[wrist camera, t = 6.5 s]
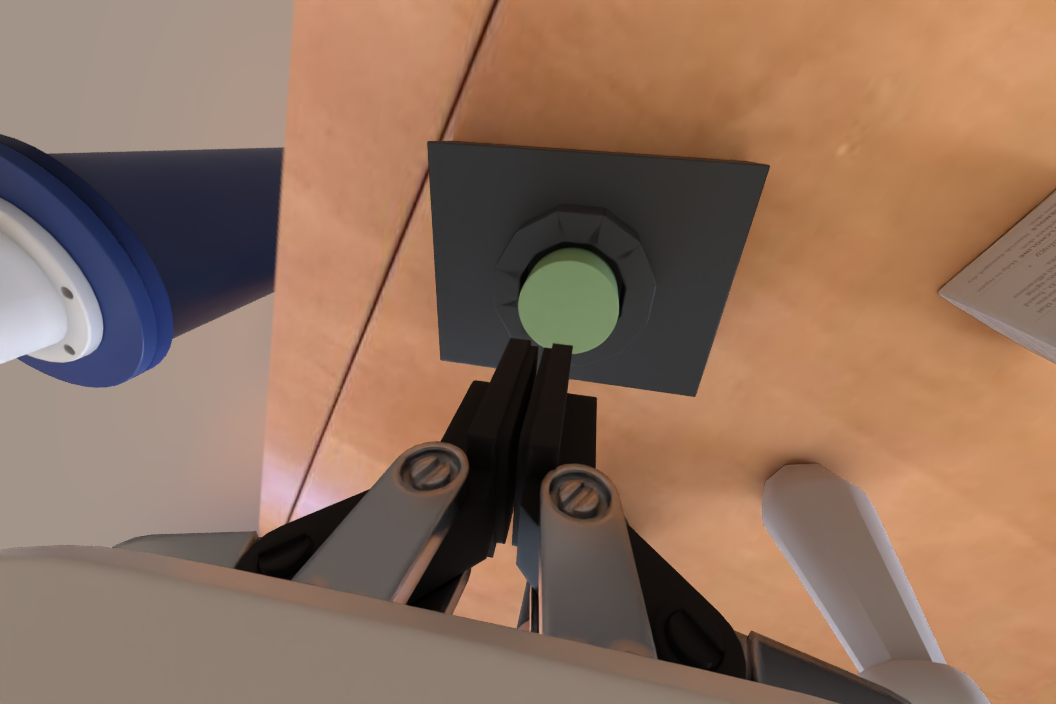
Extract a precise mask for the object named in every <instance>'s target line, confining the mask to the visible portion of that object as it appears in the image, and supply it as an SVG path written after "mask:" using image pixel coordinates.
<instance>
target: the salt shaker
mask: <svg viewBox="0 0 1056 704" xmlns="http://www.w3.org/2000/svg"><path fill="white" fill-rule="evenodd" d="M762 520H763V525H764V527H765V528H766V530H767V531H768V533H769V534H770V536H771V537H772V539H773V540H774V542H775V543H776V545H777V546H778V548H779V549H780V550H781V552H782V553H783V555H784V556H785V558H786V559H787V561H788V562H789V564H790V565H791V567H792V568H793V570H794V572H795V573H796V575H797V576H798V578H799V579H800V581H801V582H802V584H803V585H804V587H805V589H806V590H807V592H808V593H809V595H810V596H811V598H812V599H813V601H814V602H815V604H816V606H817V607H818V609H819V610H820V612H821V613H822V615H823V616H824V618H825V619H826V621H827V623H828V624H829V626H830V627H831V629H832V630H833V632H834V633H835V635H836V636H837V638H838V640H839V641H840V643H841V644H842V646H843V647H844V649H845V650H846V652H847V653H848V655H849V657H850V658H851V660H852V661H853V663H854V664H855V666H856V667H857V669H858V670H859V672H860V673H859V674H858V675H857V676H860V677H862V678H864V679H867V680H869V681H872V682H874V683H876V684H879V685H881V686H883V687H886V688H888V689H889V690H891V691H893V692H895V693H896V694H898V695H900V696H902V697H903V698H905V699H907V700H908V701H910V702H911V703H912V704H991V703H990V702H989V700H988V699H987V698H986V696H985V695H984V694H983V692H982V691H981V689H980V688H979V687H978V685H977V684H976V683H975V682H974V681H973V680H972V679H971V678H970V677H969V676H968V675H967V674H966V673H964V672H962V671H960V670H958V669H956V668H954V667H952V666H950V665H947V664H946V662H945V659H944V657H943V655H942V653H941V651H940V649H939V646H938V644H937V642H936V640H935V638H934V635H933V633H932V631H931V629H930V627H929V625H928V622H927V620H926V618H925V616H924V614H923V611H922V609H921V607H920V605H919V603H918V601H917V598H916V596H915V594H914V592H913V590H912V588H911V585H910V583H909V581H908V579H907V577H906V574H905V572H904V570H903V568H902V566H901V564H900V561H899V559H898V557H897V555H896V553H895V551H894V548H893V546H892V544H891V542H890V540H889V537H888V535H887V533H886V531H885V529H884V527H883V524H882V522H881V520H880V518H879V516H878V513H877V511H876V509H875V507H874V506H873V504H872V503H871V501H870V500H869V498H868V496H867V495H866V494H865V493H864V492H863V491H862V490H861V488H860V487H858V486H856V485H854V484H852V483H850V482H848V481H846V480H844V479H842V478H840V477H839V476H837V475H836V474H834V473H832V472H831V471H829V470H828V469H826V468H825V467H823V466H821V465H820V464H818V463H813V464H793V465H784V466H783V467H782V468H781V469H780V470H778V471H777V472H776V473H775V474H774V475H773V476H771V477H770V478H769V479H768V480H767V481H765V485H764V492H763V499H762Z"/></svg>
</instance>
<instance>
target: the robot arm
mask: <svg viewBox="0 0 1056 704" xmlns="http://www.w3.org/2000/svg"><path fill="white" fill-rule="evenodd" d="M103 329H104V327H103V317H102V313H101V309H100V306H99V303H98V300H97V298H96V296H95V293H94V291H93V289H92V287H91V285H90V283H89V282H88V280H87V279H86V277H85V275H84V274H83V272H82V271H81V269H80V267H79V266H78V265H77V264H76V262H75V261H74V260H73V259H72V257H71V256H70V255H69V253H68V252H67V251H66V250H65V249H64V248H63V247H62V246H61V244H60V243H59V242H58V241H57V240H56V239H55V238H54V237H53V236H52V235H51V234H50V233H49V232H48V231H47V230H45V229H44V228H43V227H42V226H41V225H40V224H39V223H37V222H36V221H35V220H34V219H33V218H31V217H30V216H29V215H27V214H26V213H24V212H23V211H22V210H20V209H19V208H17V207H16V206H15V205H13V204H11V203H9V202H8V201H6V200H4V199H2V198H0V364H1V363H4V362H7V361H10V360H12V359H15V358H18V357H20V356H23V355H29V356H32V357H34V358H37V359H41V360H45V361H50V362H61V363H64V362H70V361H74V360H77V359H79V358H82V357H84V356H86V355H89V354H91V353H92V352H93V351H94V350H96V349H97V348H98V346H99V344H100V342H101V340H102V335H103ZM572 351H573V346H572V345H564V344H556V343H553V345H552V348H546V347H544V350H543V354H542V357H541V361H540V364H539V368H538V372H537V361H538V346H531V340H525V339H517V338H510V340H509V342H508V344H507V347H506V349H505V351H504V353H503V355H502V357H501V360H500V362H499V364H498V366H497V368H496V371H495V373H494V375H493V377H492V379H491V381H490V382H484V381H477V380H475V381H473V382H472V384H471V386H470V387H469V389H468V391H467V393H466V395H465V397H464V399H463V401H462V402H461V404H460V406H459V408H458V410H457V412H456V414H455V416H454V417H453V419H452V421H451V423H450V425H449V427H448V429H447V431H446V433H445V434H444V436H443V438H442V440H441V442H439V441H436V442H426V443H422V444H418V445H415V446H413V447H411V448H410V449H408V450H406V451H405V452H404V453H402V454H401V455H400V456H399V457H398V458H397V459H396V460H395V461H394V463H393V464H392V465H391V466H390V467H389V468H388V469H387V471H386V472H385V473H384V474H383V475H382V476H381V477H380V479H379V480H378V481H377V482H376V483H375V484H374V485H373V487H372V488H371V489H369V490H367V491H364V492H362V493H359V494H357V495H355V496H352V497H350V498H347V499H345V500H343V501H340V502H338V503H335V504H333V505H331V506H328V507H326V508H323V509H321V510H319V511H316V512H314V513H311V514H309V515H307V516H304V517H302V518H299V519H297V520H295V521H292V522H290V523H287V524H285V525H283V526H280V527H279V528H277V529H275V530H273V531H271V532H269V533H267V534H266V535H264V536H263V537H258V535H257V532H256V531H253V532H221V533H189V534H158V535H147V536H141V537H135V538H132V539H130V540H127V541H125V542H122V543H120V544H117V545H115V546H114V547H112V548H109V547H101V546H77V545H54V546H35V547H17V548H9V549H2V550H0V704H912V703H911V702H910V701H908V700H907V699H905V698H903V697H902V696H900V695H898V694H896V693H895V692H893V691H891V690H889V689H888V688H886V687H883V686H881V685H879V684H876V683H874V682H872V681H869V680H867V679H864V678H862V677H860V676H857V675H855V674H853V673H850V672H848V671H846V670H843V669H841V668H839V667H836V666H834V665H831V664H829V663H827V662H824V661H822V660H820V659H817V658H815V657H813V656H810V655H808V654H806V653H803V652H801V651H798V650H796V649H794V648H791V647H789V646H787V645H784V644H782V643H780V642H777V641H775V640H773V639H770V638H768V637H765V636H763V635H761V634H758V633H756V632H754V631H751V632H750V633H749V635H748V636H746V635H744V634H742V633H739V632H737V631H735V630H733V628H732V627H731V625H730V624H729V623H728V622H727V621H726V620H725V618H724V617H723V616H722V615H721V614H720V613H719V612H718V611H717V610H716V609H715V608H714V607H713V606H712V605H711V604H710V603H709V602H708V601H707V600H706V599H705V598H704V597H703V596H702V595H701V594H700V593H699V592H698V591H697V590H696V589H694V588H693V587H692V586H691V585H690V584H689V583H688V582H687V581H686V580H685V579H684V578H683V577H682V576H681V575H680V574H679V573H678V572H677V571H676V570H675V569H674V568H673V567H672V566H671V565H670V564H669V563H667V562H666V561H665V560H664V559H663V558H662V557H661V556H660V555H659V554H658V553H657V552H656V551H655V550H654V549H653V548H652V547H651V546H650V545H649V544H648V543H647V542H646V541H645V540H644V539H643V538H641V537H640V536H639V535H638V534H637V533H636V532H635V531H634V530H633V529H632V528H631V527H630V526H629V525H628V524H627V523H626V522H625V517H624V513H623V509H622V505H621V500H620V496H619V493H618V491H617V488H616V486H615V484H614V483H613V482H612V481H611V480H610V478H609V477H608V476H606V475H605V474H604V473H602V472H601V471H599V470H598V469H596V416H597V398H596V397H590V396H583V395H576V394H569V393H567V390H568V382H569V374H570V367H571V359H572ZM536 373H537V375H536ZM513 509H514V518H513V535H512V545H513V546H517V561H516V565H517V566H518V568H519V569H520V570H521V572H522V573H523V575H524V576H525V578H526V579H527V580H528V582H529V583H530V585H531V586H530V625H529V631H525V630H520V629H516V628H511V627H506V626H502V625H497V624H492V623H488V622H483V621H478V620H474V619H469V618H464V617H460V616H455V615H452V614H453V612H454V610H455V608H456V606H457V603H458V601H459V599H460V597H461V595H462V593H463V591H464V588H465V586H466V584H467V582H468V579H469V576H470V573H471V567H473V566H475V565H476V564H478V563H479V562H481V561H483V560H484V559H486V557H491V558H493V555H494V551H495V547H496V543H502V544H505V542H506V538H507V534H508V530H509V526H510V522H511V518H512V513H513Z"/></svg>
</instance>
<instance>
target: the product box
mask: <svg viewBox="0 0 1056 704" xmlns="http://www.w3.org/2000/svg"><path fill="white" fill-rule="evenodd" d="M938 294H939V295H941V296H942V297H944V298H945V299H946V300H948V301H949V302H951V303H952V304H954V305H955V306H957V307H958V308H960V309H961V310H963V311H965V312H966V313H968V314H969V315H971V316H973V317H974V318H976V319H977V320H979V321H981V322H982V323H984V324H985V325H987V326H989V327H990V328H992V329H993V330H995V331H997V332H998V333H1000V334H1002V335H1004V336H1005V337H1007V338H1009V339H1010V340H1012V341H1014V342H1015V343H1017V344H1019V345H1021V346H1022V347H1024V348H1026V349H1028V350H1030V351H1031V352H1033V353H1035V354H1037V355H1039V356H1041V357H1043V358H1045V359H1047V360H1049V361H1051V362H1053V363H1055V364H1056V191H1054V192H1053V193H1052V194H1051V195H1050V196H1049V197H1048V198H1046V199H1045V200H1044V201H1043V202H1042V203H1041V204H1039V205H1038V206H1037V207H1036V208H1035V209H1034V210H1032V211H1031V212H1030V213H1029V214H1028V215H1027V216H1026V217H1025V218H1023V219H1022V220H1021V221H1020V222H1019V223H1018V224H1016V225H1015V226H1014V227H1013V228H1012V229H1011V230H1009V231H1008V232H1007V233H1006V234H1005V235H1004V236H1002V237H1001V238H1000V239H999V240H998V241H996V242H995V243H994V244H993V245H992V246H991V247H989V248H988V249H987V250H986V251H985V252H983V253H982V254H981V255H980V256H979V257H977V258H976V259H975V260H974V261H973V262H971V263H970V264H969V265H968V266H967V267H965V268H964V269H963V270H962V271H961V272H959V273H958V274H957V275H956V276H955V277H953V278H952V279H951V280H950V281H949V282H948V283H947V284H945V285H944V286H943V287H942V288H941V289H940V290H939V291H938Z"/></svg>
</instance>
